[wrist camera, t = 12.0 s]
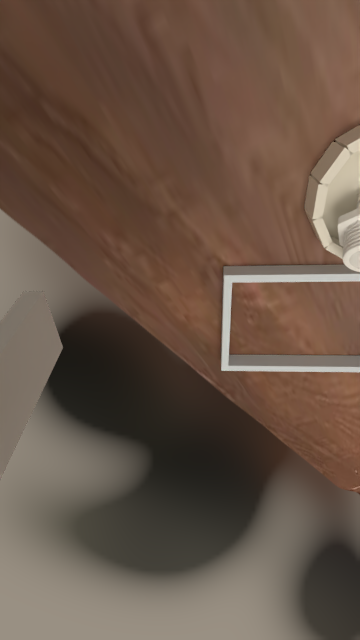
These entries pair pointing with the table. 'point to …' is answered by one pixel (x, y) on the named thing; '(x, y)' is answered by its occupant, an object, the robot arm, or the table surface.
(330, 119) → the table surface
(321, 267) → the open rectangular frame
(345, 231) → the pipe fitting
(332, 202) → the bowl
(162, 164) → the table surface
